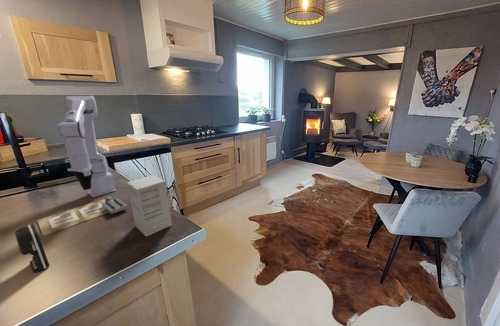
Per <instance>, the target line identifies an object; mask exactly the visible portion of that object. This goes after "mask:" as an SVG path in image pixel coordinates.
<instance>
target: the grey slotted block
mask: <svg viewBox="0 0 500 326" xmlns="http://www.w3.org/2000/svg"><path fill="white" fill-rule="evenodd" d="M104 199H105V202H104V203H101V204H102V206H103V207H104V208H105V209H106V210H107V211H108V212H110V213H109V214H110V215H113V214H115V213H119V212H121V211H124V210H126V209H129V205H128V204H127V203H126V202H124V201H122V200H121V199H120V198H118V197H116V198H112V196H106V197H104Z"/></svg>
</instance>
